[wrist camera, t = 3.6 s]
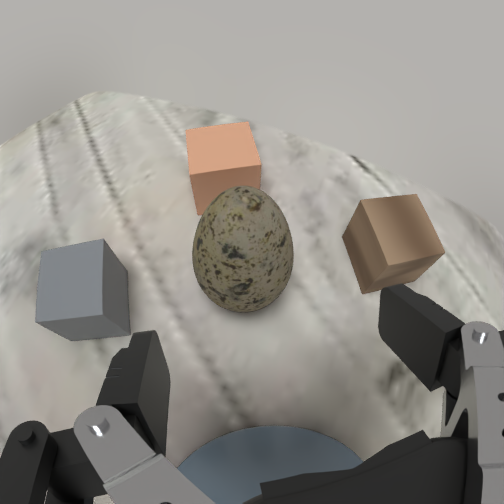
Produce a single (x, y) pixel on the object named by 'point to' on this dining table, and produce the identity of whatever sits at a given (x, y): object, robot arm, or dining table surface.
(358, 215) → the walnut block
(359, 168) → the dining table surface
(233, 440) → the round blue platter
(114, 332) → the charcoal block
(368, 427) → the dining table surface
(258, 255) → the decorative egg
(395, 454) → the robot arm
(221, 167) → the terracotta block
